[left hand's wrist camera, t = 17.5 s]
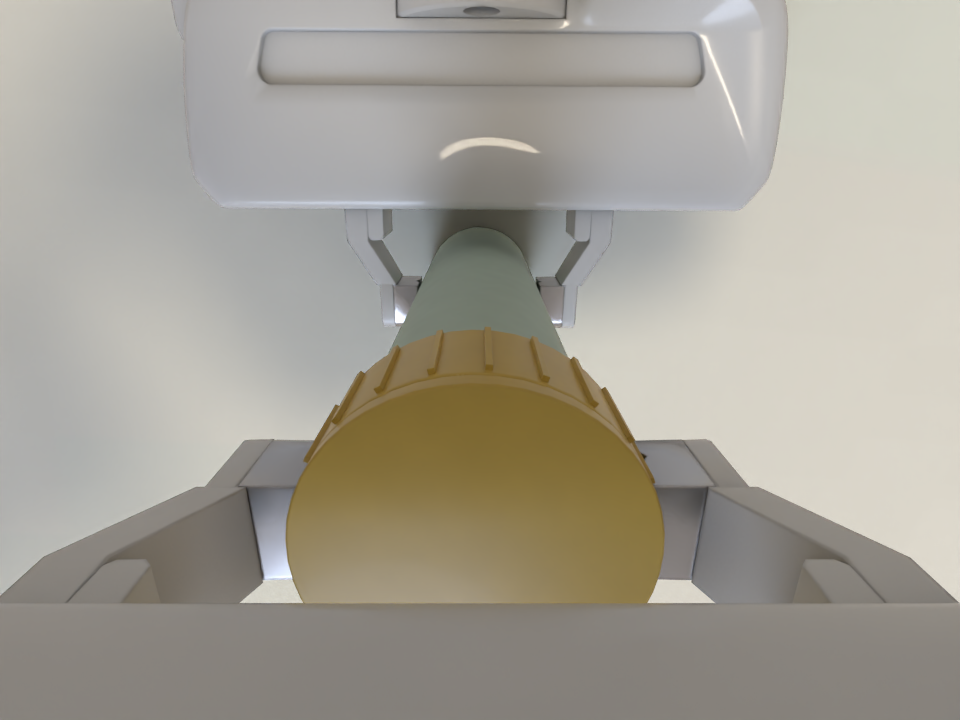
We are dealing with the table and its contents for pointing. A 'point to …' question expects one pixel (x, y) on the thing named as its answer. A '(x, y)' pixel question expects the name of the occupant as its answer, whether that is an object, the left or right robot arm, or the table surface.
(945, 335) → the table surface
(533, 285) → the pale green cylinder
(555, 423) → the lid
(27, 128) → the table surface
